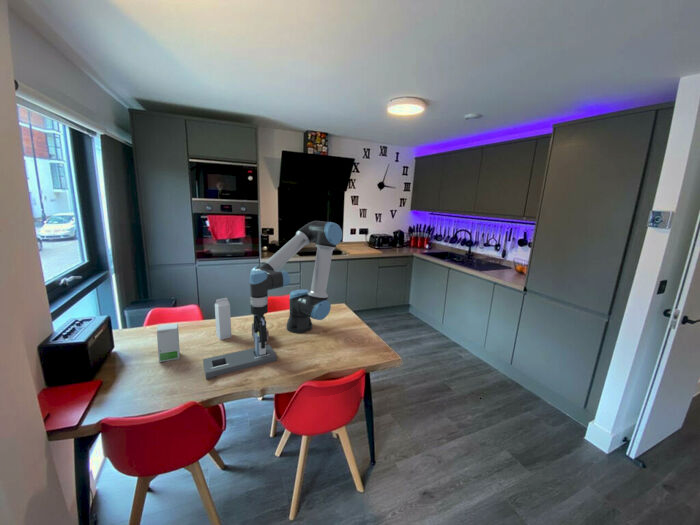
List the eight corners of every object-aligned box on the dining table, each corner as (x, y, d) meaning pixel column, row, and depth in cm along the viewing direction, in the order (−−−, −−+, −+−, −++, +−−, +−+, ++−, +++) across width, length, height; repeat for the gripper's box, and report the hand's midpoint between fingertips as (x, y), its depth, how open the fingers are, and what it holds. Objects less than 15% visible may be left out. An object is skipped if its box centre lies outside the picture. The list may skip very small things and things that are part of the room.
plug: (263, 354, 139) (263, 330, 137) (265, 358, 136) (265, 333, 133) (255, 356, 137) (254, 332, 135) (257, 360, 134) (256, 335, 131)
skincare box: (158, 362, 130) (155, 331, 127) (160, 355, 136) (157, 325, 132) (180, 358, 134) (177, 328, 130) (180, 352, 139) (178, 322, 136)
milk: (231, 337, 156) (230, 299, 152) (220, 340, 152) (218, 301, 148) (227, 333, 161) (225, 295, 156) (216, 336, 157) (214, 298, 152)
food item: (270, 344, 150) (270, 327, 148) (255, 348, 146) (254, 330, 144) (264, 334, 162) (263, 317, 160) (249, 336, 158) (248, 320, 156)
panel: (269, 349, 145) (269, 344, 144) (276, 361, 135) (276, 355, 134) (203, 365, 130) (203, 358, 129) (206, 379, 120) (205, 372, 119)
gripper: (245, 298, 138) (247, 341, 143) (256, 313, 120) (257, 362, 125) (261, 296, 142) (262, 338, 147) (274, 310, 124) (274, 358, 129)
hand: (260, 349), depth 136 cm, fingers open, 8 cm apart
